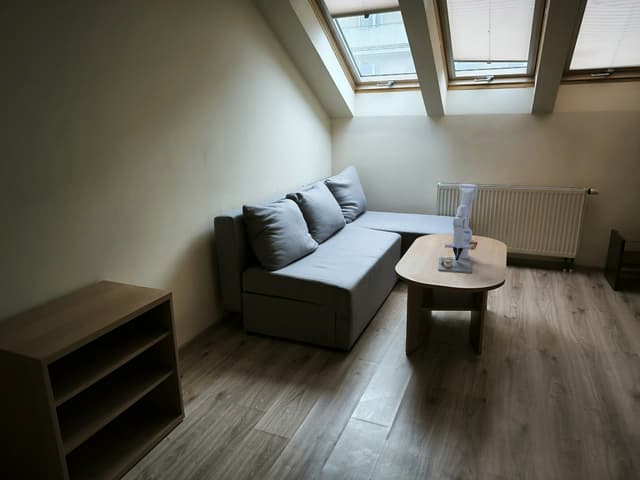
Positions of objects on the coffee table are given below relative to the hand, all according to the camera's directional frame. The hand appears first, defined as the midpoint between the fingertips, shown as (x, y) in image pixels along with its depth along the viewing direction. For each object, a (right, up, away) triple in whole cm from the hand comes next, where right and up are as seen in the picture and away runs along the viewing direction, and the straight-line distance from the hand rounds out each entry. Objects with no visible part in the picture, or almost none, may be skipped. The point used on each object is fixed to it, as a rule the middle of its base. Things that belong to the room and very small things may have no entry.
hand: (456, 260), depth 260 cm
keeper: (-7, -2, -4) cm, 8 cm away
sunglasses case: (+19, +7, +35) cm, 41 cm away
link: (-6, -2, -2) cm, 6 cm away
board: (-2, -3, -3) cm, 5 cm away
